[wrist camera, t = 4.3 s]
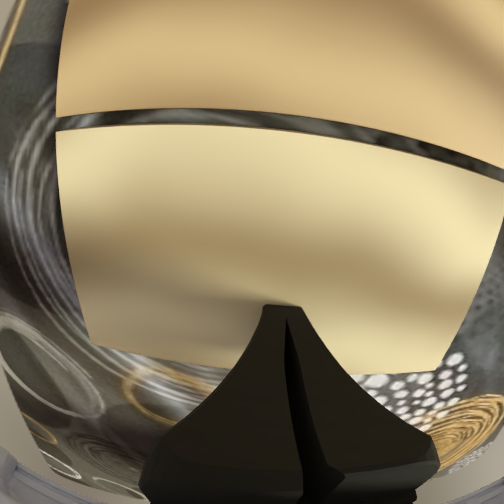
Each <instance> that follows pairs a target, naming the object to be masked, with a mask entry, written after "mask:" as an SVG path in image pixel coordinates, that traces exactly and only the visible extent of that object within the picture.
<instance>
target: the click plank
mask: <svg viewBox="0 0 504 504" xmlns="http://www.w3.org/2000/svg"><path fill="white" fill-rule="evenodd" d="M56 155H57V172H58V184H59V194H60V203H61V212H62V219H63V226H64V232H65V238H66V244H67V250H68V255H69V260H70V265H71V270H72V274H73V279H74V283H75V287H76V291H77V295H78V299H79V303H80V307H81V310H82V314H83V318H84V321H85V324H86V328H87V331H88V334H89V337H90V341H91V344H94V345H98V346H102V347H106V348H111V349H115V350H120V351H124V352H129V353H134V354H139V355H144V356H149V357H154V358H160V359H166V360H172V361H178V362H184V363H191V364H198V365H206V366H213V367H222V368H231V369H232V368H233V367H234V366H235V364H236V363H237V361H238V360H239V358H240V357H241V355H242V354H243V352H244V350H245V349H246V347H247V345H248V344H249V342H250V340H251V338H252V336H253V334H254V332H255V330H256V328H257V326H258V323H259V320H260V318H261V314H262V307H263V306H264V305H266V304H270V305H282V306H295V307H301V308H302V309H303V310H304V312H305V314H306V315H307V317H308V319H309V321H310V322H311V324H312V326H313V327H314V329H315V330H316V332H317V334H318V335H319V337H320V338H321V340H322V341H323V342H324V344H325V345H326V347H327V348H328V350H329V351H330V352H331V354H332V355H333V356H334V358H335V359H336V360H337V361H338V363H339V364H340V365H341V366H342V367H343V369H344V370H345V371H346V372H347V373H348V374H349V375H354V374H388V373H406V372H420V371H431V370H436V368H437V366H438V365H439V363H440V361H441V360H442V358H443V356H444V355H445V353H446V351H447V350H448V348H449V346H450V344H451V342H452V341H453V339H454V337H455V335H456V333H457V331H458V329H459V327H460V325H461V324H462V322H463V320H464V318H465V315H466V313H467V311H468V309H469V307H470V305H471V303H472V301H473V298H474V296H475V294H476V292H477V289H478V287H479V285H480V282H481V280H482V277H483V275H484V273H485V270H486V267H487V265H488V262H489V259H490V257H491V254H492V251H493V248H494V245H495V242H496V239H497V236H498V233H499V230H500V227H501V223H502V220H503V216H504V182H502V181H499V180H497V179H495V178H493V177H490V176H488V175H485V174H482V173H479V172H476V171H473V170H470V169H467V168H464V167H461V166H458V165H455V164H451V163H448V162H445V161H441V160H438V159H434V158H431V157H427V156H424V155H420V154H416V153H412V152H408V151H404V150H400V149H396V148H391V147H387V146H382V145H378V144H373V143H368V142H363V141H358V140H352V139H347V138H341V137H335V136H329V135H323V134H316V133H309V132H302V131H294V130H286V129H276V128H266V127H255V126H243V125H227V124H205V123H140V124H118V125H103V126H91V127H80V128H74V129H69V130H63V131H58V132H56Z"/></svg>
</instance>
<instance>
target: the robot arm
mask: <svg viewBox="0 0 504 504" xmlns="http://www.w3.org/2000/svg"><path fill="white" fill-rule="evenodd" d="M440 466H441V465H440V461H439V457H438V454H437V451H436V447H435V445H434V442H433V440H432V438H431V436H429V435H427V434H426V433H424V432H422V431H420V430H419V429H417V428H415V427H413V426H412V425H410V424H408V423H406V422H405V421H403V420H402V419H400V418H399V417H397V416H396V415H395V414H393V413H392V412H390V411H389V410H388V409H386V408H385V407H384V406H382V405H381V404H380V403H379V402H377V401H376V400H375V399H374V398H373V397H372V396H370V395H369V394H368V393H367V392H366V391H365V390H364V389H362V388H361V387H360V386H359V385H358V384H357V383H356V382H355V381H354V380H353V379H352V378H351V376H350V375H349V374H348V373H347V372H346V371H345V370H344V369H343V367H342V366H341V365H340V364H339V363H338V361H337V360H336V359H335V358H334V356H333V355H332V354H331V352H330V351H329V350H328V348H327V347H326V345H325V344H324V342H323V341H322V340H321V338H320V337H319V335H318V334H317V332H316V330H315V329H314V327H313V326H312V324H311V322H310V321H309V319H308V317H307V315H306V314H305V312H304V310H303V309H302V308H301V307H295V306H282V305H270V304H266V305H264V306H263V307H262V314H261V318H260V320H259V323H258V326H257V328H256V330H255V332H254V334H253V336H252V338H251V340H250V342H249V344H248V345H247V347H246V349H245V350H244V352H243V354H242V355H241V357H240V358H239V360H238V361H237V363H236V364H235V366H234V367H233V368H232V370H231V371H230V372H229V374H228V375H227V376H226V377H225V379H224V380H223V381H222V382H221V383H220V384H219V385H218V387H217V388H216V389H215V390H214V391H213V392H212V393H211V394H210V395H209V396H208V397H207V398H206V399H205V400H204V401H203V402H202V403H201V404H200V405H199V406H197V407H196V408H195V409H194V410H193V411H192V412H191V413H190V414H189V415H187V416H186V417H185V418H184V419H182V420H181V421H180V422H178V423H177V424H176V425H174V426H173V427H171V428H170V429H169V430H167V431H166V432H165V433H163V434H162V435H161V436H160V437H159V439H158V440H157V442H156V443H155V445H154V446H153V448H152V450H151V451H150V453H149V455H148V457H147V459H146V461H145V464H144V466H143V470H142V473H141V477H140V480H139V484H138V485H139V488H140V490H141V491H142V492H143V494H144V495H145V496H146V497H147V499H148V500H149V501H150V502H151V503H150V504H413V502H414V501H416V499H417V495H416V491H415V489H417V488H418V487H419V486H421V485H422V484H423V483H425V482H426V481H427V480H429V479H430V478H431V477H432V476H433V475H434V474H435V473H436V472H437V471H438V469H439V467H440ZM0 504H107V503H104V502H101V501H98V500H96V499H93V498H90V497H88V496H85V495H83V494H81V493H78V492H76V491H73V490H71V489H69V488H67V487H65V486H63V485H60V484H58V483H56V482H54V481H52V480H50V479H48V478H46V477H44V476H42V475H40V474H39V473H37V472H35V471H33V470H31V469H29V468H28V467H26V466H24V465H22V464H21V463H19V462H18V461H17V460H16V459H15V458H14V457H13V456H12V455H11V454H10V453H9V452H8V451H7V450H5V449H4V448H3V447H1V446H0ZM444 504H504V477H502V478H501V479H499V480H497V481H495V482H493V483H491V484H489V485H487V486H485V487H482V488H480V489H478V490H476V491H474V492H471V493H469V494H467V495H464V496H462V497H460V498H457V499H455V500H452V501H449V502H446V503H444Z"/></svg>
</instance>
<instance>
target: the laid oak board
mask: <svg viewBox="0 0 504 504" xmlns="http://www.w3.org/2000/svg"><path fill="white" fill-rule="evenodd" d="M141 109H224V110H242V111H255V112H267V113H277V114H286V115H294V116H302V117H309V118H316V119H322V120H329V121H335V122H340V123H346V124H351V125H356V126H361V127H366V128H371V129H375V130H380V131H384V132H388V133H393V134H397V135H401V136H404V137H408V138H412V139H416V140H419V141H423V142H426V143H430V144H433V145H436V146H440V147H443V148H446V149H449V150H452V151H455V152H458V153H461V154H464V155H467V156H470V157H473V158H475V159H478V160H481V161H483V162H486V163H489V164H491V165H494V166H497V167H499V168H502V169H504V0H69V4H68V9H67V14H66V19H65V24H64V30H63V37H62V43H61V51H60V59H59V69H58V81H57V97H56V117H64V116H73V115H82V114H91V113H100V112H111V111H124V110H141Z"/></svg>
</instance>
